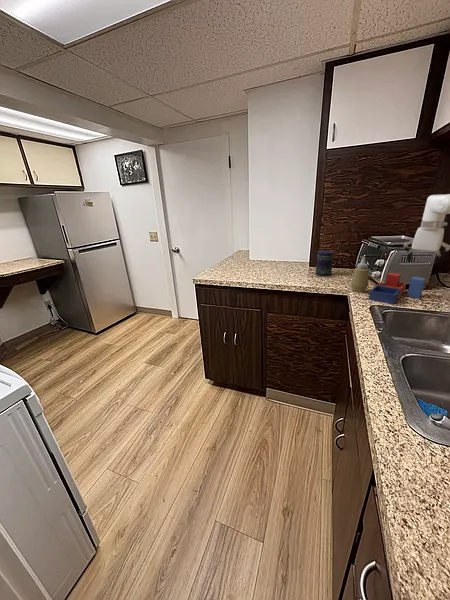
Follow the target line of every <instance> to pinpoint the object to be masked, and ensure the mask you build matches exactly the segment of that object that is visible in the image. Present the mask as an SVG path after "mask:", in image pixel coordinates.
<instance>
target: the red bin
mask: <svg viewBox="0 0 450 600" xmlns="http://www.w3.org/2000/svg"><path fill="white" fill-rule="evenodd" d="M377 285H378V286H384V287H389V288H395V289H400V294H399V298H400V297H401V296H402V295H403V294H404V293H405V291H406V286H407V282H404V281H403V282H402V281H399V286H398V287H394V286H388V285H382V282H381V281H380V282H379V283H378V284H377Z"/></svg>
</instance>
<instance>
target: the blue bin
mask: <svg viewBox="0 0 450 600" xmlns="http://www.w3.org/2000/svg"><path fill="white" fill-rule="evenodd" d="M399 294H400V289H395V288H389V287H384V286H378V284H377V285H375V286H374V287H373V288H371V289H370V290H369V295H368V300H371V301H375V302H380V303H384V304H389V305H394V304H395V303H396V302H397V300H399V298H400V297H399Z"/></svg>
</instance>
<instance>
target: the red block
mask: <svg viewBox="0 0 450 600" xmlns="http://www.w3.org/2000/svg"><path fill="white" fill-rule="evenodd" d="M401 277H402V273H397V272H391V273H390V272H389V273H388V274H387V276H386V279H385V280H386V285H388V286H394V287H398V286H399V282H401V281H400V280H401Z"/></svg>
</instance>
